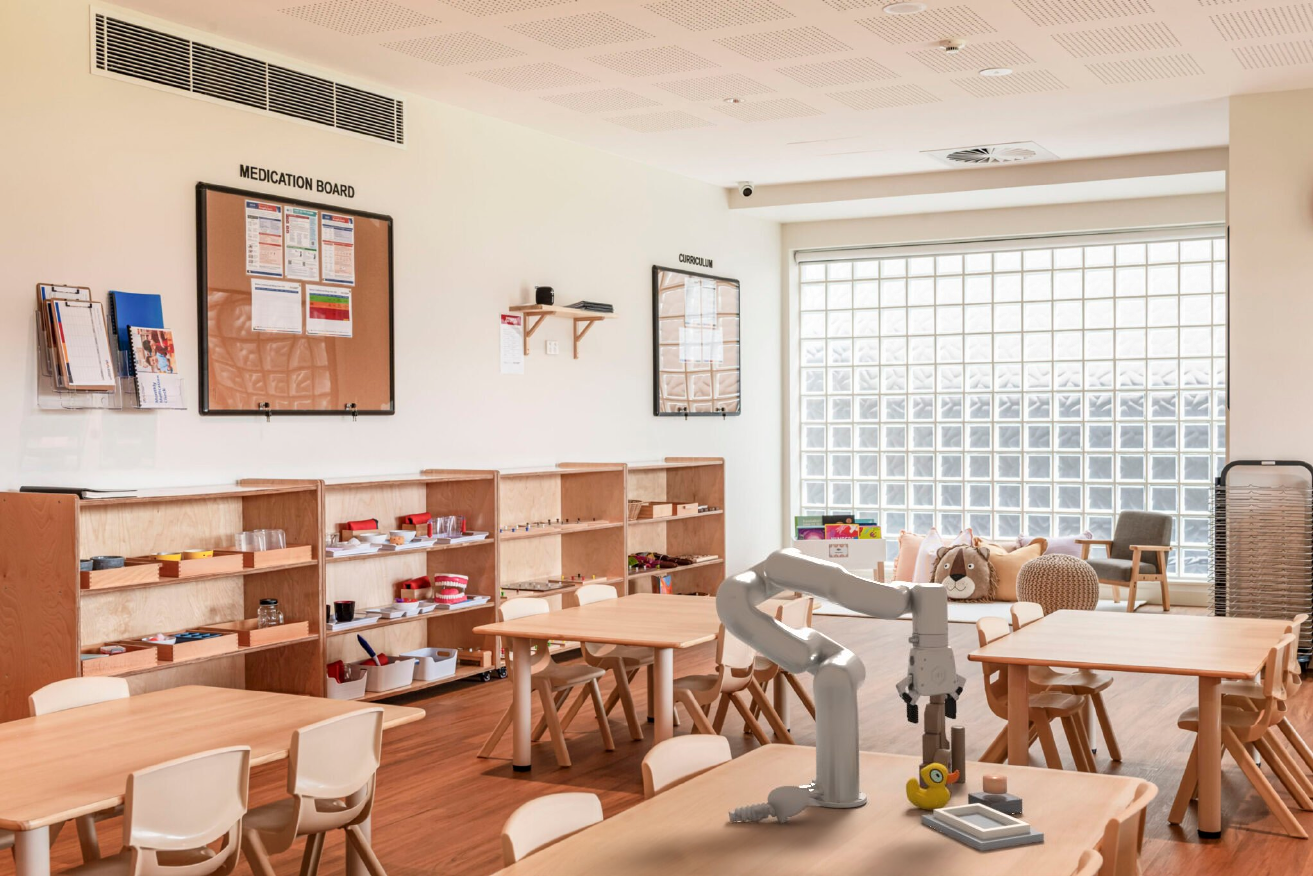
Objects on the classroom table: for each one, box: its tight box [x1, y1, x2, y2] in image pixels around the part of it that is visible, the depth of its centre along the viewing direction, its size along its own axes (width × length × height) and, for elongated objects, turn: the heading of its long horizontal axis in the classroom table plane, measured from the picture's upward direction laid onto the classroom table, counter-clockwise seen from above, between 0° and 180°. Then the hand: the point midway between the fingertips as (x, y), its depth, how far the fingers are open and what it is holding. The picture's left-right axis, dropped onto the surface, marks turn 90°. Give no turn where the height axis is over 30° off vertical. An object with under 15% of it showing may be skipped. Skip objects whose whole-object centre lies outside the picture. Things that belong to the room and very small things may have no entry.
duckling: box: [905, 763, 960, 811], centre depth 267 cm, size 11×5×10 cm, turn 71°
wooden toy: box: [918, 694, 966, 794], centre depth 285 cm, size 16×7×25 cm, turn 150°
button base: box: [967, 791, 1023, 815], centre depth 266 cm, size 8×8×3 cm
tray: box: [920, 803, 1045, 852], centre depth 251 cm, size 15×20×3 cm
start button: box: [982, 773, 1008, 794], centre depth 266 cm, size 5×5×3 cm
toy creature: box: [728, 785, 822, 824], centre depth 259 cm, size 13×7×20 cm
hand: (931, 720), depth 267 cm, fingers open, 9 cm apart
